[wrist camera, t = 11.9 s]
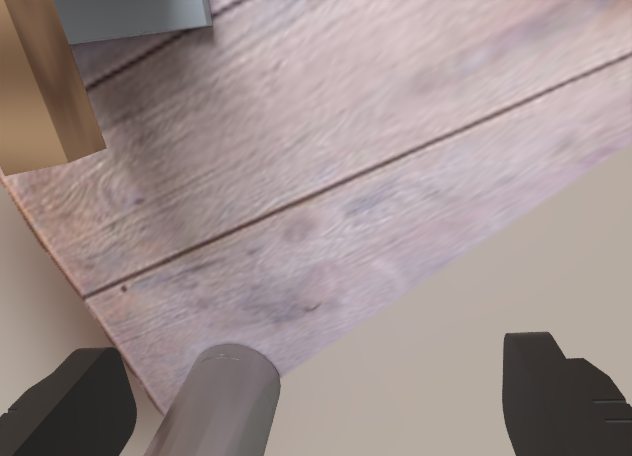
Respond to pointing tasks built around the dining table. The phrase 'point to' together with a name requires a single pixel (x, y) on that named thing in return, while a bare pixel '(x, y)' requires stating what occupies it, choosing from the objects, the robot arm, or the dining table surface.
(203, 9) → the fulcrum board
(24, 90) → the walnut bar
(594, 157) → the dining table surface
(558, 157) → the dining table surface
